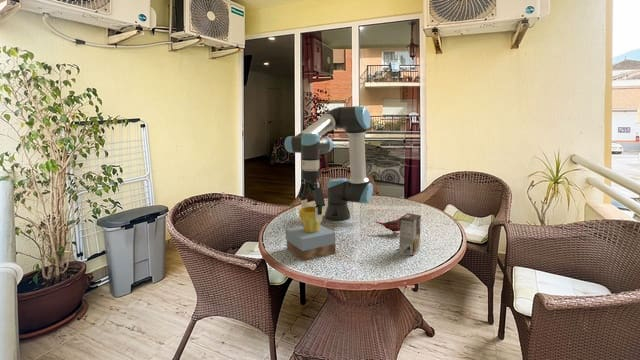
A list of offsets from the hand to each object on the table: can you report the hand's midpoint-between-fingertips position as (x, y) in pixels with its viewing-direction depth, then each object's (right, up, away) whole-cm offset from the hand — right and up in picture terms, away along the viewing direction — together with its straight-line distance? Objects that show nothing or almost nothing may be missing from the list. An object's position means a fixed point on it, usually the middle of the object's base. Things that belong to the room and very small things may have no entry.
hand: (311, 217), depth 151 cm
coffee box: (+43, -15, +1) cm, 46 cm away
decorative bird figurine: (+40, -11, +24) cm, 49 cm away
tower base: (0, -16, +3) cm, 16 cm away
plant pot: (0, -6, +1) cm, 6 cm away
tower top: (-1, -11, +2) cm, 11 cm away
